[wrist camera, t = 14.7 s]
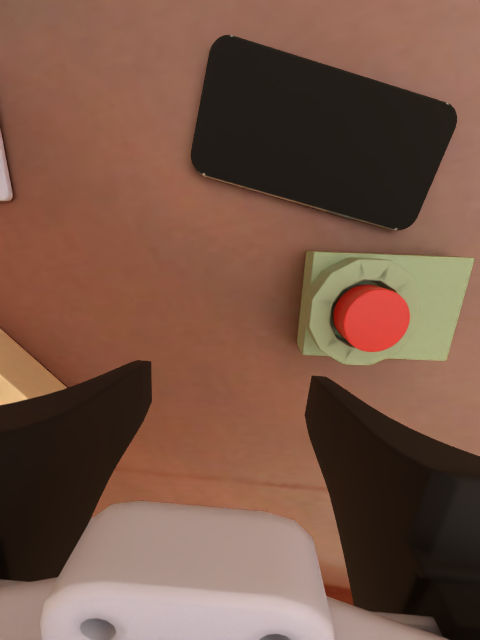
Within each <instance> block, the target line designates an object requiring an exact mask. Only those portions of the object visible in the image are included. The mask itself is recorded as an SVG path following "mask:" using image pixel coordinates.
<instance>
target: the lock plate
mask: <svg viewBox="0 0 480 640" xmlns="http://www.w3.org/2000/svg"><path fill="white" fill-rule="evenodd" d="M66 388H67V387H66V386H65V385H64V384H62V383H61V382H60V381H59V380H58V379H57V378H56V377H55V376H53V375H52V374H51V373H50V372H49V371H48V370H47V369H46V368H44V367H43V366H42V365H41V364H40V363H39V362H38V361H36V360H35V359H34V358H33V357H32V356H31V355H30V354H29V353H27V352H26V351H25V350H24V349H23V348H22V347H21V346H20V345H18V344H17V343H16V342H15V341H14V340H13V339H12V338H11V337H9V336H8V335H7V334H6V333H5V332H4V331H3V330H2V329H0V405H4V404H9V403H14V402H18V401H22V400H26V399H30V398H34V397H39V396H43V395H46V394H50V393H53V392H56V391H60V390H63V389H66Z"/></svg>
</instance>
